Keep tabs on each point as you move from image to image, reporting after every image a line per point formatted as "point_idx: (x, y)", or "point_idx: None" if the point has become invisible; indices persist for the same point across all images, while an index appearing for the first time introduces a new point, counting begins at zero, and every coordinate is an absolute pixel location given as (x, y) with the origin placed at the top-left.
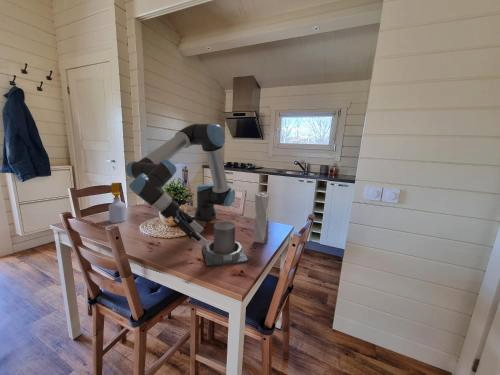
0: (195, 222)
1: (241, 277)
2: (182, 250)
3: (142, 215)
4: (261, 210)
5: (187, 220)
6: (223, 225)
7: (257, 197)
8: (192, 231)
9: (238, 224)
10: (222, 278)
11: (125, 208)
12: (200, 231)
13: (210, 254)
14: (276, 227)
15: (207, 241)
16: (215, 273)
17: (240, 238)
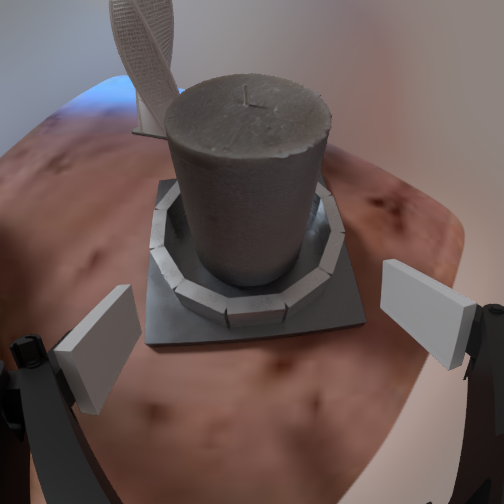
0: (88, 336)
1: (408, 210)
2: (160, 455)
3: None
4: (160, 9)
5: (86, 444)
6: (256, 109)
7: None
8: None
9: (17, 179)
10: (423, 266)
11: None
12: (135, 319)
13: (310, 295)
14: (101, 94)
15: (394, 259)
16: None
17: (117, 174)
